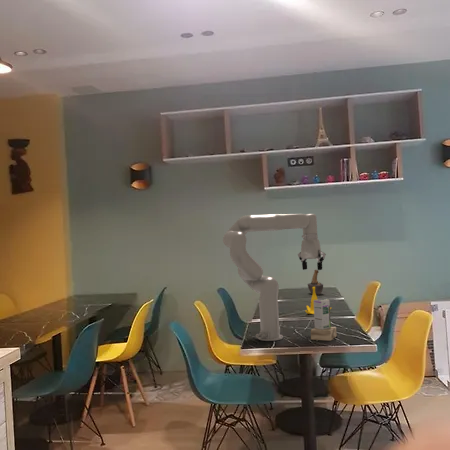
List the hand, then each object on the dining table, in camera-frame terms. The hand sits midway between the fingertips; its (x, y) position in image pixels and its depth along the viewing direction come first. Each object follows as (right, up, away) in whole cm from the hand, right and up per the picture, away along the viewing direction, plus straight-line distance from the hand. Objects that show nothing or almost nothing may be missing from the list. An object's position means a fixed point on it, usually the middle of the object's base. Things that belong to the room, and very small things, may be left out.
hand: (312, 269), depth 272 cm
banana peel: (+14, -33, +58) cm, 68 cm away
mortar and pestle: (+27, -32, +140) cm, 146 cm away
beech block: (+3, -33, -14) cm, 36 cm away
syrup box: (+3, -28, -14) cm, 32 cm away
